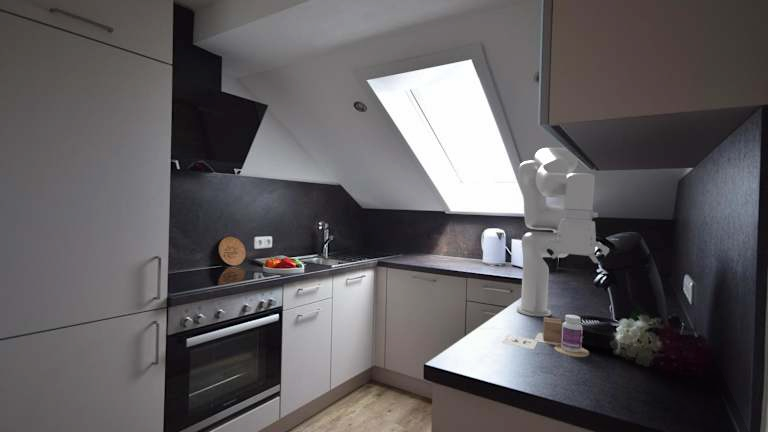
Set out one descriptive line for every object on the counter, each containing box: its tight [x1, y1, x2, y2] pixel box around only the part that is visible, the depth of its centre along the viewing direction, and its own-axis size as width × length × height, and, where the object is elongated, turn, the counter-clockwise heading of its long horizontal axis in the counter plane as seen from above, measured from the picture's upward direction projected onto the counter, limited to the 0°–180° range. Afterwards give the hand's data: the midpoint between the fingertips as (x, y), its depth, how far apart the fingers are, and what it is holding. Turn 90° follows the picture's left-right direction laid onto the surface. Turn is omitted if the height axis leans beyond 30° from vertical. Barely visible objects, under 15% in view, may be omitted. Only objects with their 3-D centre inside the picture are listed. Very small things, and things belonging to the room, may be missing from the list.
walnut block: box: [542, 316, 563, 343], centre depth 120 cm, size 5×5×6 cm
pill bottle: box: [561, 314, 584, 353], centre depth 111 cm, size 5×5×10 cm
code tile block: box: [534, 332, 561, 346], centre depth 121 cm, size 9×9×1 cm
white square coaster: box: [501, 334, 539, 350], centre depth 118 cm, size 9×9×1 cm
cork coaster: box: [553, 344, 590, 358], centre depth 112 cm, size 9×9×1 cm
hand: (573, 273), depth 114 cm, fingers open, 9 cm apart
